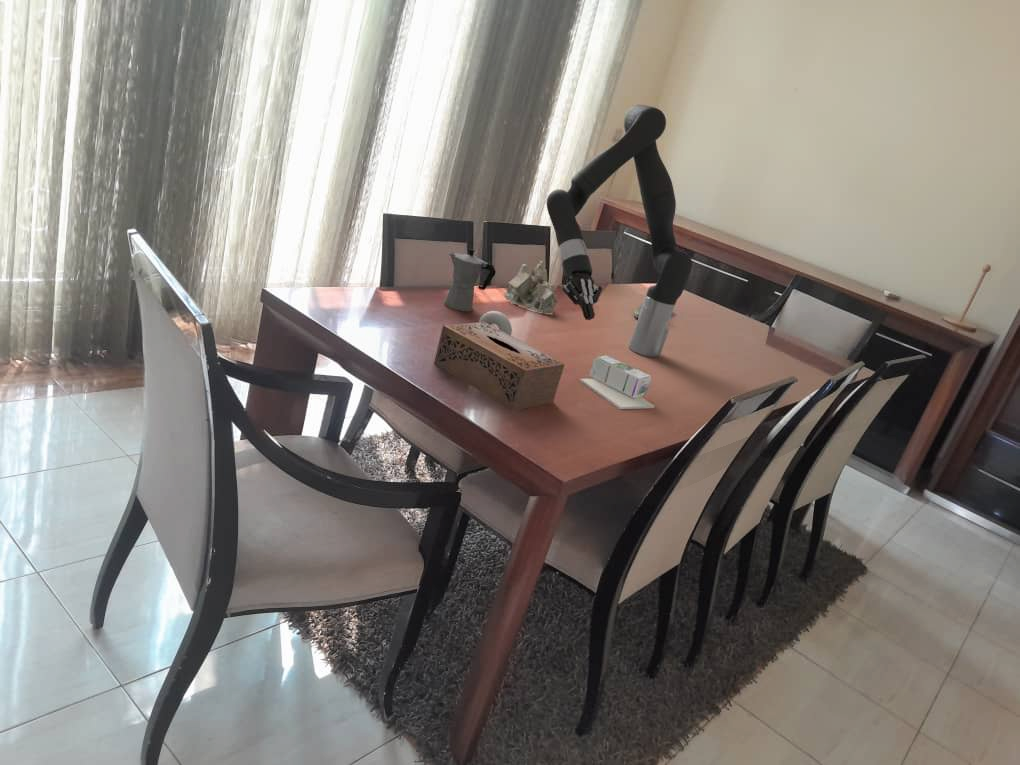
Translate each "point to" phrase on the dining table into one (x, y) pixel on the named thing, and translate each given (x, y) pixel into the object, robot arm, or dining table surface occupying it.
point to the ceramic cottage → (532, 290)
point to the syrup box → (620, 376)
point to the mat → (616, 396)
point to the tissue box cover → (498, 365)
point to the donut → (497, 321)
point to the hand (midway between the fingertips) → (590, 318)
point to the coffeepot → (466, 280)
